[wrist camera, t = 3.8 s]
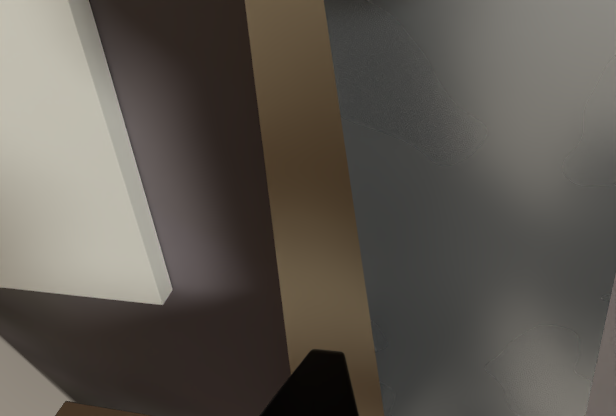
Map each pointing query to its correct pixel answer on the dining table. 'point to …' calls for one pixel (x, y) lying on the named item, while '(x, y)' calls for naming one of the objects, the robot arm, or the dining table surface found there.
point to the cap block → (91, 411)
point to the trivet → (69, 164)
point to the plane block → (311, 191)
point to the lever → (481, 196)
